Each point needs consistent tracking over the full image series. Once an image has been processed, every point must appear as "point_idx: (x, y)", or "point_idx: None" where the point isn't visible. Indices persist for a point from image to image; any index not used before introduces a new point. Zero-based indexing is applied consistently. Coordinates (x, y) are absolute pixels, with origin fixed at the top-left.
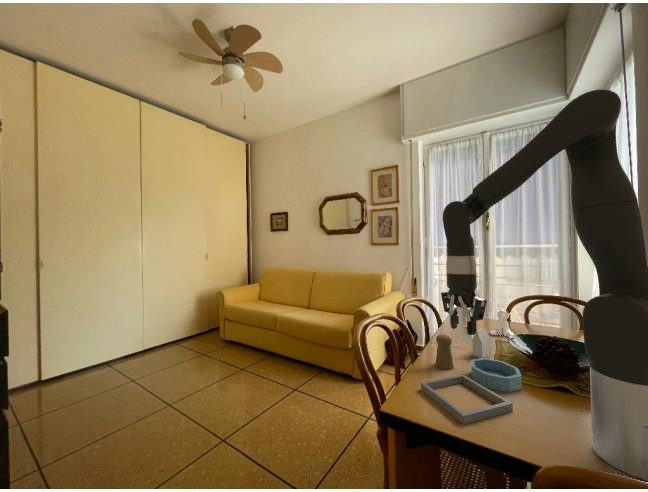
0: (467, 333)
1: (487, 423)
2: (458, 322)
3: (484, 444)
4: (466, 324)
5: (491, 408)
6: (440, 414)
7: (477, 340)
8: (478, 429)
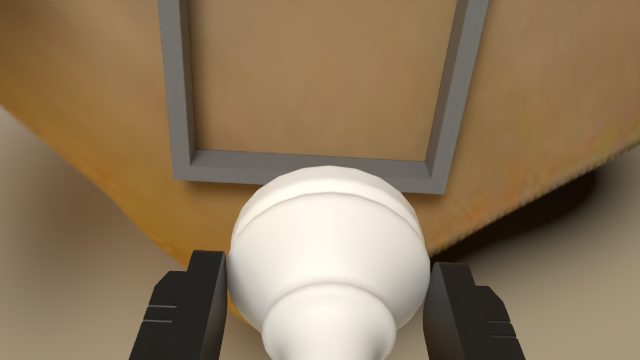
0: (424, 325)
1: (481, 94)
2: (215, 304)
3: (531, 192)
4: (377, 346)
5: (476, 49)
6: None
7: None
8: (481, 152)
